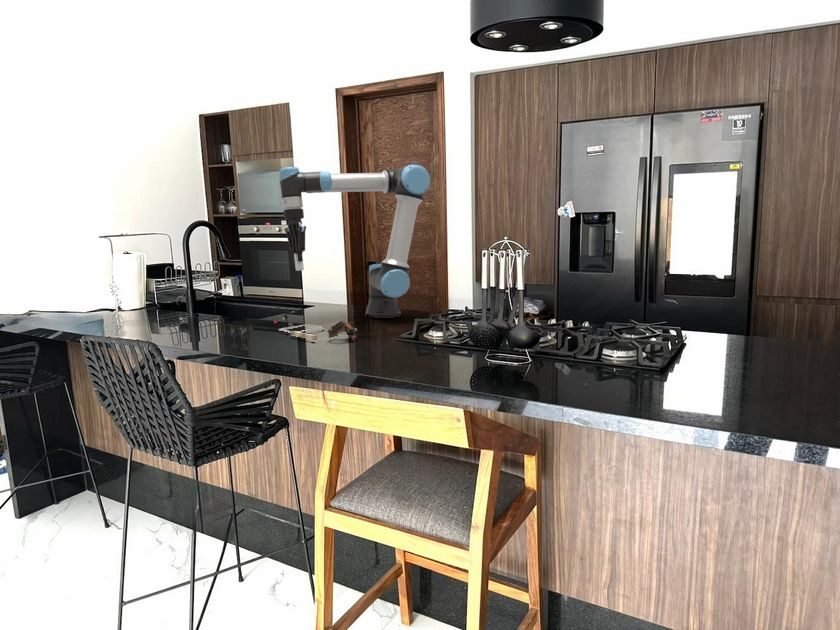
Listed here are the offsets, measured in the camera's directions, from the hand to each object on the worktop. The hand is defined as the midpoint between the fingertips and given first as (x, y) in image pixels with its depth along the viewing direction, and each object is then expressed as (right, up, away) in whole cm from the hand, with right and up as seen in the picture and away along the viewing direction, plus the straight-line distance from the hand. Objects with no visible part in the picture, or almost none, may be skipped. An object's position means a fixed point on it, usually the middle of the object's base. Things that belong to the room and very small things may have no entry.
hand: (299, 270), depth 240 cm
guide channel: (+12, -25, -13) cm, 31 cm away
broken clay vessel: (+20, -27, -20) cm, 39 cm away
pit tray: (+1, -24, -4) cm, 24 cm away
